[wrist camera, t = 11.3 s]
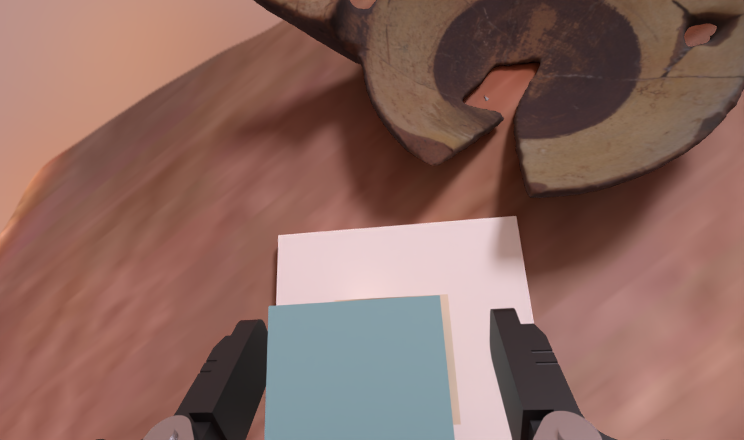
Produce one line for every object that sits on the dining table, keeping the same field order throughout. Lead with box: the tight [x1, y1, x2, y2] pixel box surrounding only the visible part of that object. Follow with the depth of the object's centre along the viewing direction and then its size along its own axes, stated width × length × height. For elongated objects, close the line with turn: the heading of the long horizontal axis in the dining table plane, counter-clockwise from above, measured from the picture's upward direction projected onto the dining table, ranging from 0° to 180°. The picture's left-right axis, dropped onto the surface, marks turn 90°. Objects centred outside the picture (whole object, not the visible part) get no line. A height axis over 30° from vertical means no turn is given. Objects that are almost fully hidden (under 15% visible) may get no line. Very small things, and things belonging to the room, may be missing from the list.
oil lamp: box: [254, 0, 744, 198], centre depth 24 cm, size 22×30×8 cm
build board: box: [276, 216, 534, 440], centre depth 22 cm, size 16×16×1 cm
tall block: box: [265, 295, 455, 440], centre depth 13 cm, size 4×4×10 cm
